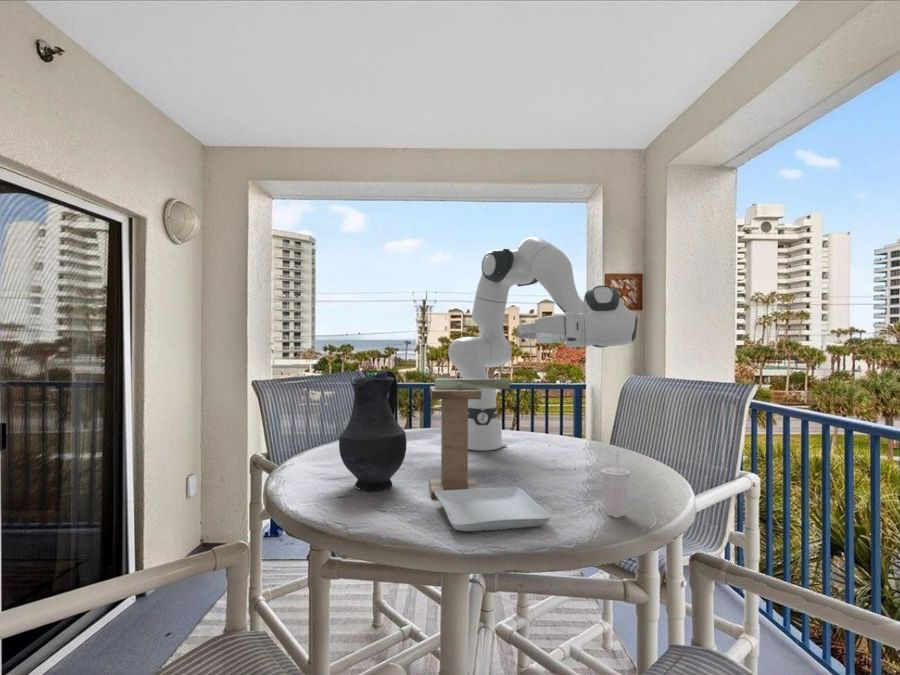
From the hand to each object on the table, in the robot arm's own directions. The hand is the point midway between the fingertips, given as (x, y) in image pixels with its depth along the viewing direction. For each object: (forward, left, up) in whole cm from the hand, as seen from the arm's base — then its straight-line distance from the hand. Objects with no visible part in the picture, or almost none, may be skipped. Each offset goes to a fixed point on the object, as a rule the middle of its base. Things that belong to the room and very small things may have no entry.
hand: (518, 332), depth 136 cm
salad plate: (+23, -11, -41) cm, 48 cm away
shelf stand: (+4, -17, -40) cm, 44 cm away
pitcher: (-3, -37, -41) cm, 55 cm away
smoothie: (+24, +17, -41) cm, 50 cm away
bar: (+4, -13, -14) cm, 20 cm away
